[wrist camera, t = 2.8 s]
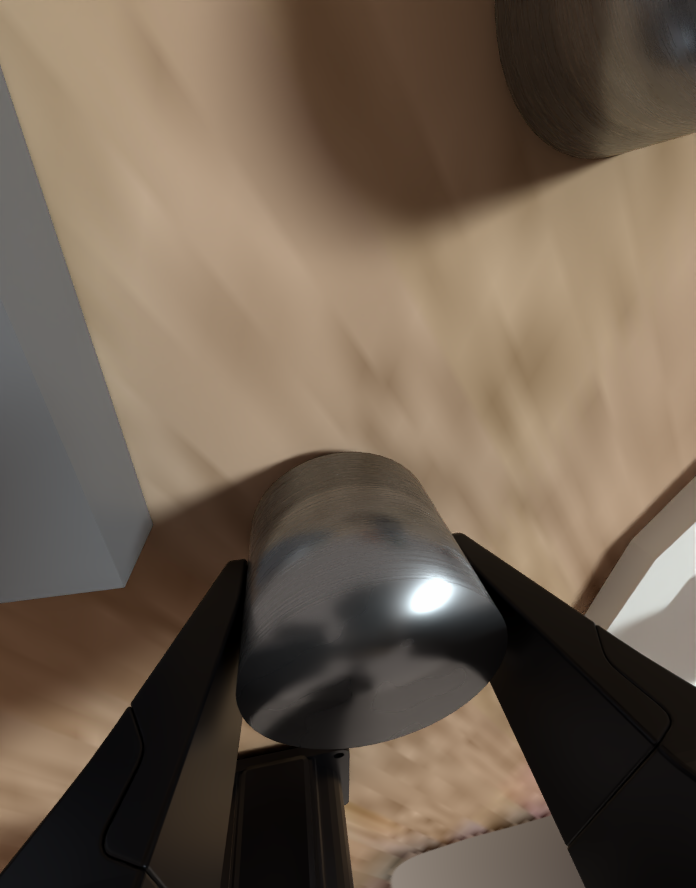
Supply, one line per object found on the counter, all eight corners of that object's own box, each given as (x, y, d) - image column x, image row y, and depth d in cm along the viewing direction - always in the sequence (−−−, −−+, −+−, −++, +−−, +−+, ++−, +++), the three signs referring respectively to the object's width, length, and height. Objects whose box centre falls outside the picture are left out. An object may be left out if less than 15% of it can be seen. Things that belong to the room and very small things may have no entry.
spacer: (419, 580, 12) (480, 721, 8) (262, 602, 11) (254, 769, 7) (439, 444, 9) (538, 562, 6) (238, 460, 8) (210, 608, 5)
